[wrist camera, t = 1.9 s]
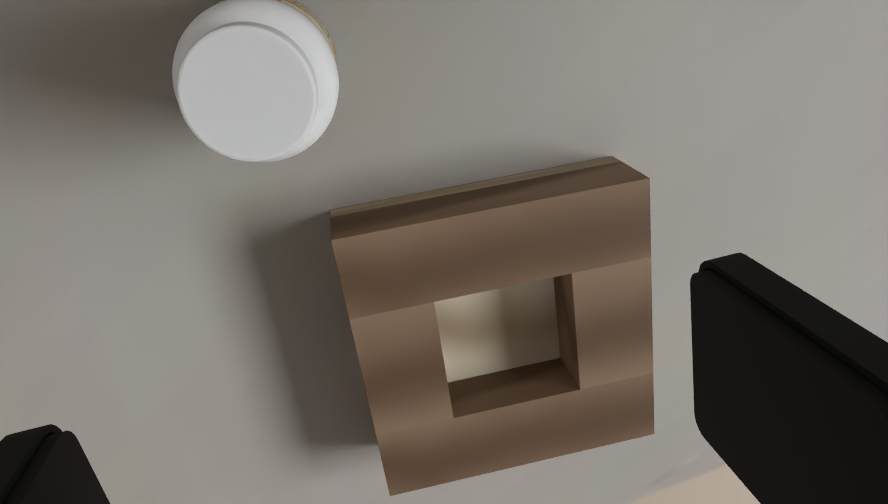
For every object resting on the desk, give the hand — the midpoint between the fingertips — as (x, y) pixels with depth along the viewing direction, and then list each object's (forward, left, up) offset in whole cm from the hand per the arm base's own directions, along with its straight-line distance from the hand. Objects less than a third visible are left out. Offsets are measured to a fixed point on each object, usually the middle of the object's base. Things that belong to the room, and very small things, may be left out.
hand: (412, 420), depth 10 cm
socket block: (+10, +5, -22) cm, 25 cm away
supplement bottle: (-4, -3, -22) cm, 22 cm away
